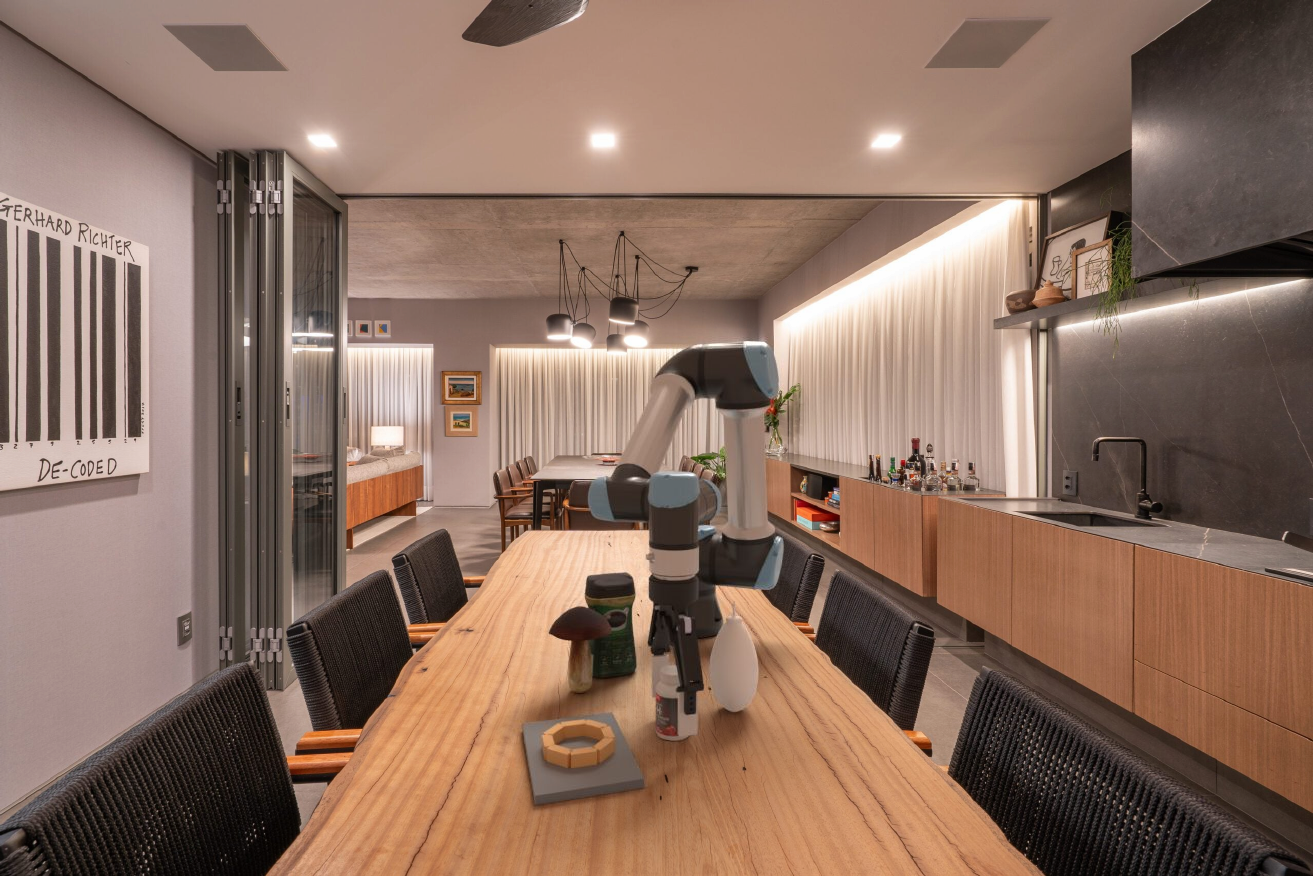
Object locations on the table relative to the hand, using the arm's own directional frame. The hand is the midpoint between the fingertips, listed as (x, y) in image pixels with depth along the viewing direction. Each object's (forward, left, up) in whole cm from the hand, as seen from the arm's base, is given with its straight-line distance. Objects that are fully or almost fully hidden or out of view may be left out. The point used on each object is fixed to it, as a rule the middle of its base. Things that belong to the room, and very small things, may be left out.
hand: (673, 714), depth 98 cm
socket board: (+15, +3, -3) cm, 15 cm away
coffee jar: (+4, -27, -3) cm, 28 cm away
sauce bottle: (-12, -5, -3) cm, 14 cm away
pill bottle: (0, 0, -3) cm, 3 cm away
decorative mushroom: (+11, -19, -3) cm, 22 cm away
